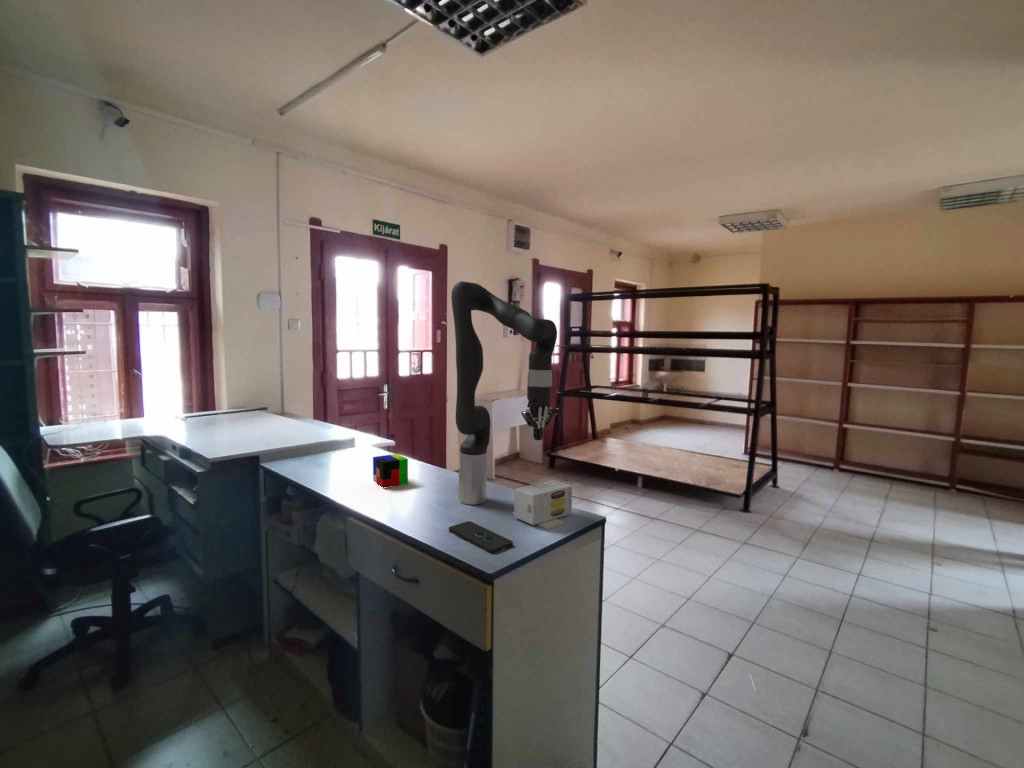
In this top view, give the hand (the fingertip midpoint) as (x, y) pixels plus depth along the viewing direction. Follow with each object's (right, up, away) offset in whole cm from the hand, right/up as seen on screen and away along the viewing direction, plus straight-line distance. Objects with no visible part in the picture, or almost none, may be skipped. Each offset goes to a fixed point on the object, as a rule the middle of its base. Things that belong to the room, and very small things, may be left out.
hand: (538, 439), depth 146 cm
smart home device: (-17, -27, -12) cm, 35 cm away
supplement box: (-5, -20, -2) cm, 21 cm away
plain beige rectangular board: (0, -25, +3) cm, 25 cm away
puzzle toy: (-56, -22, +37) cm, 70 cm away
